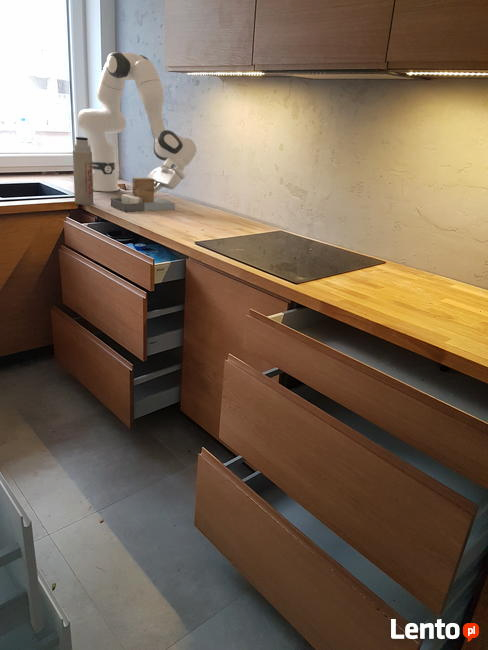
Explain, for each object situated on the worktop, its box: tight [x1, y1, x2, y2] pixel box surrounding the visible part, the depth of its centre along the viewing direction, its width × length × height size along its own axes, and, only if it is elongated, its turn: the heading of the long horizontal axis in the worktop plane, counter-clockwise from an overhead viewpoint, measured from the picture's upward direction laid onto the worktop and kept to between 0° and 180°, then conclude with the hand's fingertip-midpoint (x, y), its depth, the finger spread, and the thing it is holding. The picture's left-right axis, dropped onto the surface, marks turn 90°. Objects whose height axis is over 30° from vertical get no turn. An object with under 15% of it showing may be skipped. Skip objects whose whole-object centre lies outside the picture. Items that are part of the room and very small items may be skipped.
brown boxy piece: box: [126, 177, 155, 203], centre depth 221 cm, size 12×9×10 cm
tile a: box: [121, 193, 130, 204], centre depth 221 cm, size 5×5×2 cm
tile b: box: [128, 196, 139, 204], centre depth 218 cm, size 5×5×2 cm
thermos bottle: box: [72, 136, 94, 206], centre depth 217 cm, size 8×8×28 cm
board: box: [143, 197, 176, 212], centre depth 228 cm, size 12×16×3 cm
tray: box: [110, 197, 145, 213], centre depth 219 cm, size 13×10×4 cm
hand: (152, 191), depth 225 cm, fingers closed, pressing on brown boxy piece
